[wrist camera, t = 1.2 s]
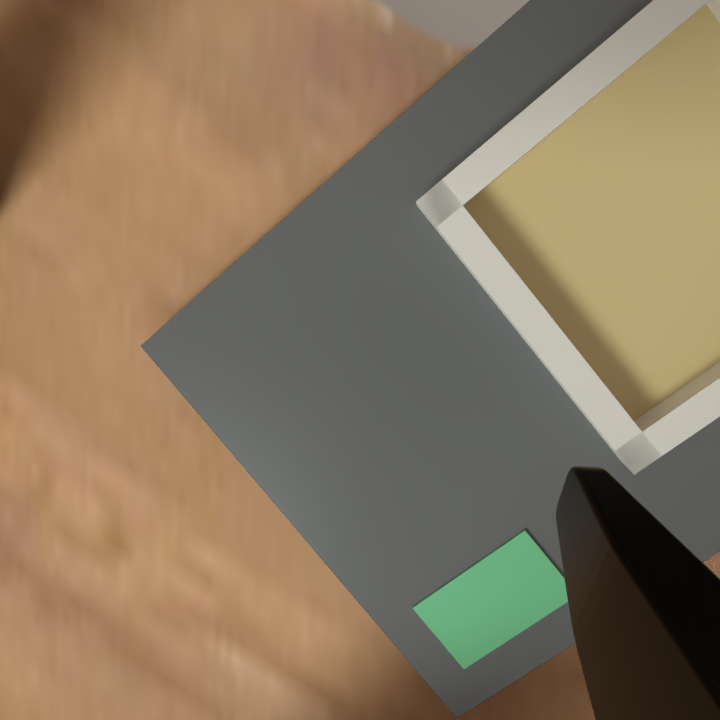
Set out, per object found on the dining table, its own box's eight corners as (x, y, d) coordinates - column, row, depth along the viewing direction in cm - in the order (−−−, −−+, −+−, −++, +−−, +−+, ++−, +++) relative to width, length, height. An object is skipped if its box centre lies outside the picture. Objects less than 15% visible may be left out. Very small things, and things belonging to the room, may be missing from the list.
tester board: (454, 689, 24) (458, 743, 21) (159, 340, 22) (123, 350, 20) (1043, 309, 19) (1142, 316, 16) (711, -147, 18) (760, -218, 15)
